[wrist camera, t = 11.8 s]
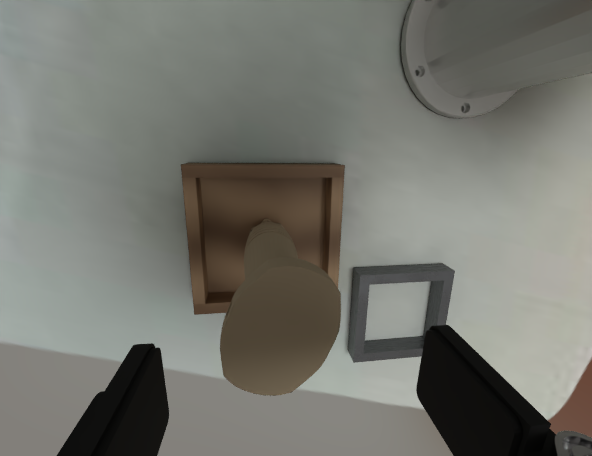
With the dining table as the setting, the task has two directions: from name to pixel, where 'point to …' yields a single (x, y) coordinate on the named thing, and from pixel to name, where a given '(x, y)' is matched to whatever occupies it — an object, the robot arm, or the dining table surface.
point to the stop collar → (364, 276)
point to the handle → (278, 316)
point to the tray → (257, 219)
